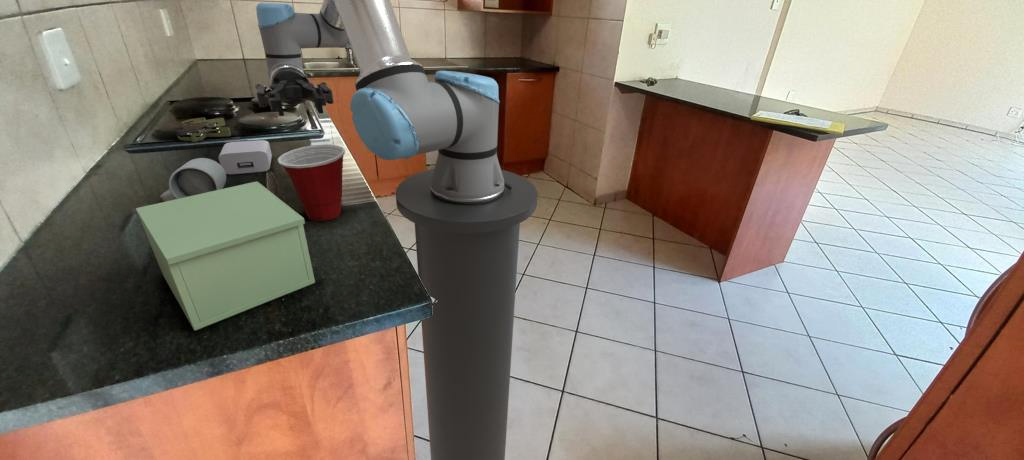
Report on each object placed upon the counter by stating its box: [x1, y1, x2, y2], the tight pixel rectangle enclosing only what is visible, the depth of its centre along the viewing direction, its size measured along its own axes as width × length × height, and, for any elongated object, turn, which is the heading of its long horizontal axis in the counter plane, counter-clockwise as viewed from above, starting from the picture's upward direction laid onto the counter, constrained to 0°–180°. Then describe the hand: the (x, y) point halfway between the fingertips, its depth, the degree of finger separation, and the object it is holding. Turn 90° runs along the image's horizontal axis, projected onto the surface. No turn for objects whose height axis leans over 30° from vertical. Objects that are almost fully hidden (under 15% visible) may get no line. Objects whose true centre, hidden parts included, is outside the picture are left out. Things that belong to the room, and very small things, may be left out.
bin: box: [137, 214, 316, 331], centre depth 58 cm, size 16×15×10 cm
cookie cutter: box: [176, 117, 232, 143], centre depth 119 cm, size 18×12×2 cm, turn 36°
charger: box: [218, 139, 273, 175], centre depth 100 cm, size 5×9×15 cm
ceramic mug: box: [159, 157, 227, 202], centre depth 80 cm, size 11×8×8 cm
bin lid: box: [135, 181, 306, 265], centre depth 55 cm, size 16×15×1 cm
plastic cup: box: [277, 143, 346, 222], centre depth 76 cm, size 11×11×12 cm
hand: (300, 107), depth 76 cm, fingers open, 6 cm apart
